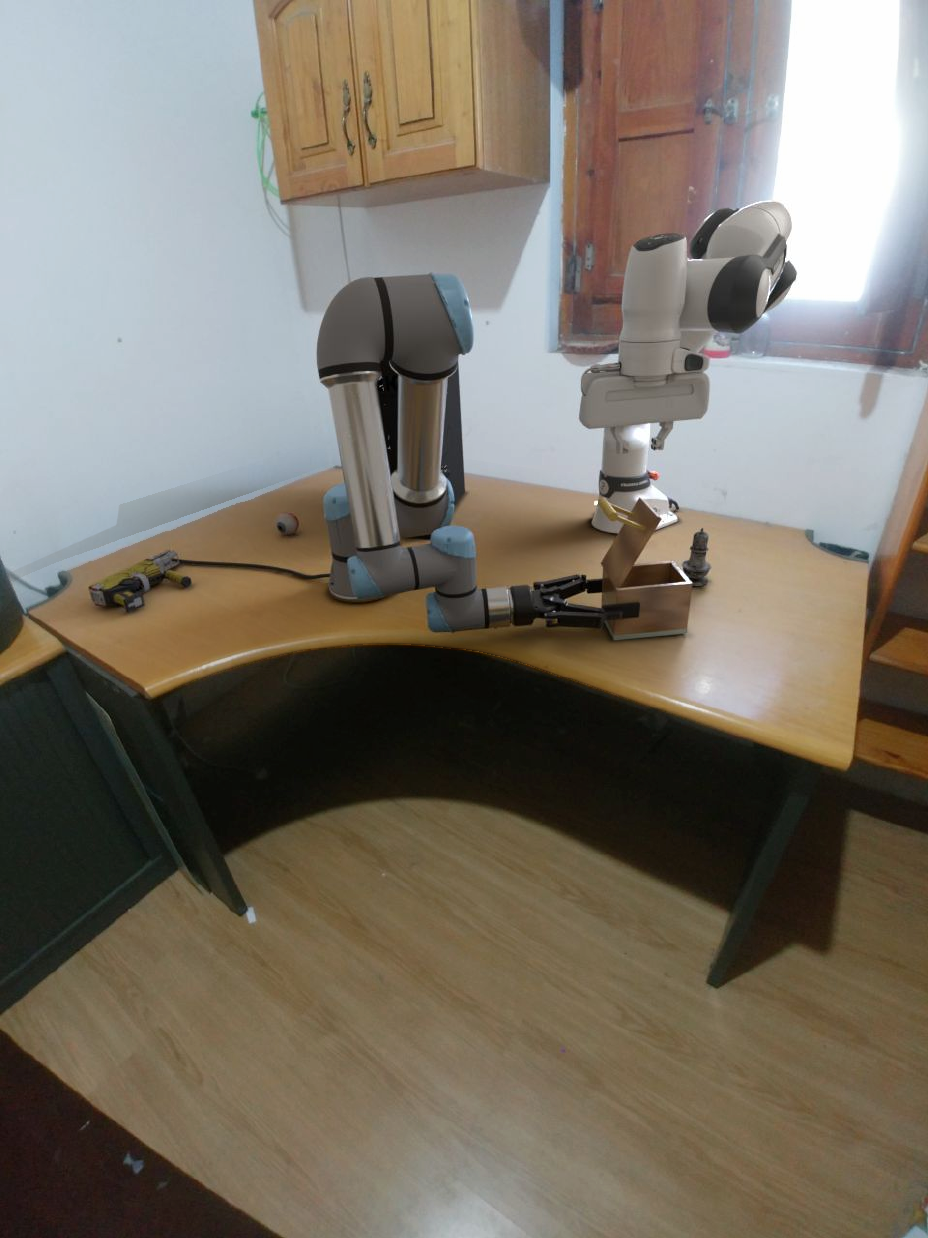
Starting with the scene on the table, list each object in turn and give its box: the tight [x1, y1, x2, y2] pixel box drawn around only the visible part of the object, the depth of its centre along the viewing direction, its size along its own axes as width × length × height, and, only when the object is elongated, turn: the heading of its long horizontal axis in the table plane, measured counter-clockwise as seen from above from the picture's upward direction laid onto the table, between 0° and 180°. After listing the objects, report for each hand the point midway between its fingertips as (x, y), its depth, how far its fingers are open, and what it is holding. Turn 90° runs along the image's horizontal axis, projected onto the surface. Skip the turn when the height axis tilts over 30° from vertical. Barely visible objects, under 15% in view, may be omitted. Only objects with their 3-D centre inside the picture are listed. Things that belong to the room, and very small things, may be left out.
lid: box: [597, 497, 662, 588], centre depth 105 cm, size 14×10×8 cm
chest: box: [600, 560, 693, 641], centre depth 112 cm, size 14×10×10 cm
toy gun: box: [87, 549, 193, 614], centre depth 138 cm, size 5×24×15 cm
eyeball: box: [275, 511, 300, 536], centre depth 163 cm, size 6×6×6 cm
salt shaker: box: [681, 527, 712, 587], centre depth 126 cm, size 6×6×12 cm
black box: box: [377, 361, 466, 539], centre depth 164 cm, size 38×20×45 cm, turn 167°
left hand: (629, 596), depth 112 cm, fingers closed on chest, 10 cm apart
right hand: (639, 451), depth 99 cm, fingers open, 5 cm apart
